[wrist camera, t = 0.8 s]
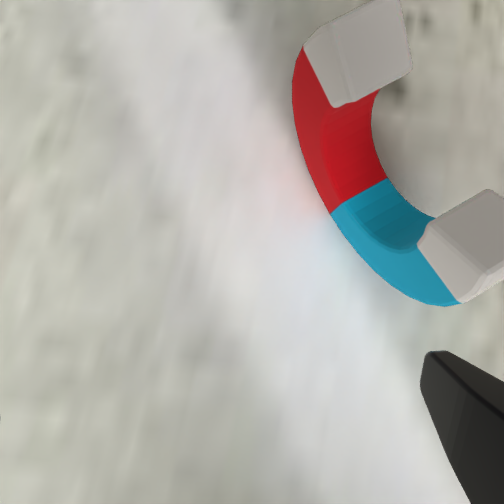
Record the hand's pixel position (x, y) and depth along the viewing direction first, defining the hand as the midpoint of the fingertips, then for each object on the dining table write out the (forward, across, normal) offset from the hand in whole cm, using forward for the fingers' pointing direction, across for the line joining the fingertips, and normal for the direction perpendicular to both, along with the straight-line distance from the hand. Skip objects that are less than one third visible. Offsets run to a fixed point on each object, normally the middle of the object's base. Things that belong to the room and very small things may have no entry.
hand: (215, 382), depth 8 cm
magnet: (+15, -7, +1) cm, 17 cm away
